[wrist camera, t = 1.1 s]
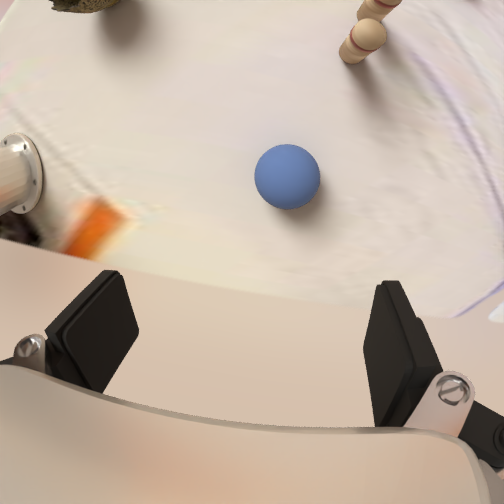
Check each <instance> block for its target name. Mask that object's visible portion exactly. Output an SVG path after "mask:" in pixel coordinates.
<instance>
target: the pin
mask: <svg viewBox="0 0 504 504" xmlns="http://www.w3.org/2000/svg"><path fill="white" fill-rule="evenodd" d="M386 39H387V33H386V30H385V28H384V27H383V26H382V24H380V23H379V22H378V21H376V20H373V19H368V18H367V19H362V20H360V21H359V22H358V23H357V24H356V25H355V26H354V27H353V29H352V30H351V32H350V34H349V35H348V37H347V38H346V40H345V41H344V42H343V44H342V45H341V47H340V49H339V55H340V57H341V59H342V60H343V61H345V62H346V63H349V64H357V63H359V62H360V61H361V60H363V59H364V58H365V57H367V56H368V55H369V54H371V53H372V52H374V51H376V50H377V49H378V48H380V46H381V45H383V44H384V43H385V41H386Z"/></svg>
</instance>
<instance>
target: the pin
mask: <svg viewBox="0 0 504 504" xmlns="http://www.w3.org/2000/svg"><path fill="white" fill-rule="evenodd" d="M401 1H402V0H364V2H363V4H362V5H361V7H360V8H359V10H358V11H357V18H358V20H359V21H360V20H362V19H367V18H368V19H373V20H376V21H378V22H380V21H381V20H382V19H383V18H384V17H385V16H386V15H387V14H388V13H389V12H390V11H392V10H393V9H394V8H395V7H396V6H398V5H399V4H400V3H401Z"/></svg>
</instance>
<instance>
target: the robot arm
mask: <svg viewBox="0 0 504 504" xmlns="http://www.w3.org/2000/svg"><path fill="white" fill-rule="evenodd" d="M41 190H42V168H41V162H40V159H39V155H38V153H37V150H36V148H35V146H34V145H33V143H32V142H31V140H30V139H29V138H28V137H26V136H25V135H23V134H21V133H14V134H10V135H8V136H6V137H5V138H4V139H3V140H2V141H1V143H0V215H2V214H4V213H6V212H8V211H9V210H12V211H13V212H15V213H18V214H24V213H27V212H28V211H30V210H32V209H33V208H34V207H35V206H36V204H37V202H38V201H39V198H40V195H41ZM45 333H46V335H47V336H48V339H47V340H45V339H44V337H43V336H42V335H39V334H32V335H29V336H26V337H24V338H23V339H21V340H20V341H19V342H18V344H17V345H16V347H15V349H14V355H13V357H11V358H9V359H6V360H3V361H0V504H504V417H503V416H501V415H499V414H498V413H496V412H494V411H492V410H490V409H489V408H487V407H485V406H483V405H482V404H480V403H478V402H476V401H474V396H475V391H474V386H473V384H472V382H471V381H470V380H469V379H468V378H467V377H466V376H464V375H463V374H461V373H458V372H455V371H445V372H443V369H442V367H441V364H440V362H439V359H438V357H437V354H436V352H435V349H434V347H433V345H432V342H431V340H430V338H429V335H428V333H427V331H426V329H425V326H424V324H423V322H422V320H421V319H420V318H419V317H416V315H415V313H414V311H413V309H412V307H411V305H410V302H409V300H408V298H407V296H406V294H405V292H404V290H403V288H402V286H401V284H400V282H399V281H384V280H383V281H382V283H381V285H377V286H376V290H375V295H374V300H373V305H372V310H371V314H370V320H369V323H368V328H367V332H366V336H365V340H364V346H363V353H364V358H365V364H366V370H367V375H368V382H369V387H370V394H371V401H372V408H373V415H374V423H375V427H348V428H323V427H321V428H320V427H291V426H274V425H261V424H251V423H241V422H233V421H225V420H218V419H211V418H204V417H199V416H193V415H187V414H182V413H177V412H172V411H167V410H162V409H158V408H154V407H149V406H145V405H141V404H137V403H133V402H129V401H125V400H121V399H118V398H115V397H111V396H108V395H104V394H102V393H103V392H104V390H105V388H106V387H107V385H108V383H109V382H110V380H111V378H112V377H113V375H114V374H115V372H116V370H117V369H118V367H119V365H120V364H121V362H122V360H123V359H124V357H125V356H126V354H127V353H128V351H129V350H130V348H131V346H132V345H133V343H134V342H135V340H136V338H137V337H138V334H139V328H138V325H137V322H136V319H135V315H134V312H133V309H132V306H131V303H130V299H129V296H128V293H127V289H126V286H125V282H124V279H123V276H122V275H120V273H119V272H118V271H115V270H114V271H113V270H104V271H102V272H101V273H100V274H99V275H98V276H97V277H96V278H95V279H94V280H93V281H92V282H91V283H90V284H89V285H88V286H87V287H86V288H85V289H84V290H83V291H82V292H81V293H80V294H79V295H78V296H77V297H76V298H75V299H74V300H73V301H72V302H71V303H70V304H69V305H68V306H67V307H66V308H65V309H64V310H63V311H62V312H61V313H60V314H59V315H58V316H57V318H55V320H54V321H53V322H52V323H51V324H50V325H49V326H48V327H47V328H46V329H45Z"/></svg>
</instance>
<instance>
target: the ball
mask: <svg viewBox="0 0 504 504" xmlns="http://www.w3.org/2000/svg"><path fill="white" fill-rule="evenodd" d="M255 184H256V187H257V190H258V192H259V193H260V195H261V196H262V198H263V199H264V200H265V201H266V202H268V203H269V204H271V205H273V206H275V207H277V208H281V209H294V208H298V207H301V206H303V205H305V204H306V203H308V202H309V201H310V200H311V199H312V198H313V197H314V195H315V194H316V192H317V190H318V187H319V184H320V171H319V167H318V165H317V162H316V161H315V159H314V158H313V156H312V155H311V154H310V153H309V152H307V151H306V150H304V149H303V148H301V147H298V146H295V145H289V144H285V145H279V146H276V147H273V148H271V149H269V150H268V151H267V152H265V153H264V154H263V155H262V157H261V158H260V159H259V161H258V163H257V166H256V169H255Z"/></svg>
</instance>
